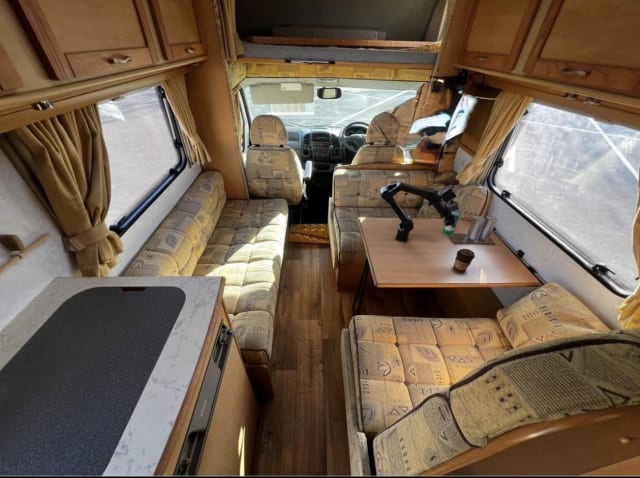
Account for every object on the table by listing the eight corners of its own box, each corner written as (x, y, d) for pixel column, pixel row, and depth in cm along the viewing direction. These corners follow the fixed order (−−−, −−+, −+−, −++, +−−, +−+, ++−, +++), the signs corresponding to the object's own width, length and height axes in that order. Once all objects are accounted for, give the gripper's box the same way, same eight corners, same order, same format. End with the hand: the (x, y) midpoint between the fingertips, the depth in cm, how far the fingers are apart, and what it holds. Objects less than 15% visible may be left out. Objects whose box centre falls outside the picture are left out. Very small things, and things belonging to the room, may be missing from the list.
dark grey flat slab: (454, 244, 162) (455, 242, 162) (448, 235, 171) (448, 233, 170) (494, 244, 162) (495, 243, 162) (486, 235, 170) (487, 234, 170)
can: (440, 233, 161) (447, 212, 153) (445, 230, 165) (453, 209, 156) (449, 237, 158) (457, 216, 149) (454, 234, 161) (462, 213, 152)
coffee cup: (465, 278, 137) (474, 259, 130) (449, 272, 141) (456, 253, 133) (468, 269, 143) (476, 250, 136) (452, 263, 147) (459, 245, 139)
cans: (468, 240, 163) (476, 220, 155) (463, 235, 168) (472, 215, 160) (489, 241, 163) (499, 220, 155) (484, 235, 168) (494, 215, 159)
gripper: (458, 205, 140) (472, 224, 145) (448, 191, 155) (461, 208, 161) (439, 217, 145) (453, 235, 151) (431, 202, 160) (444, 218, 166)
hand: (453, 223), depth 157 cm, fingers closed on can, 6 cm apart
